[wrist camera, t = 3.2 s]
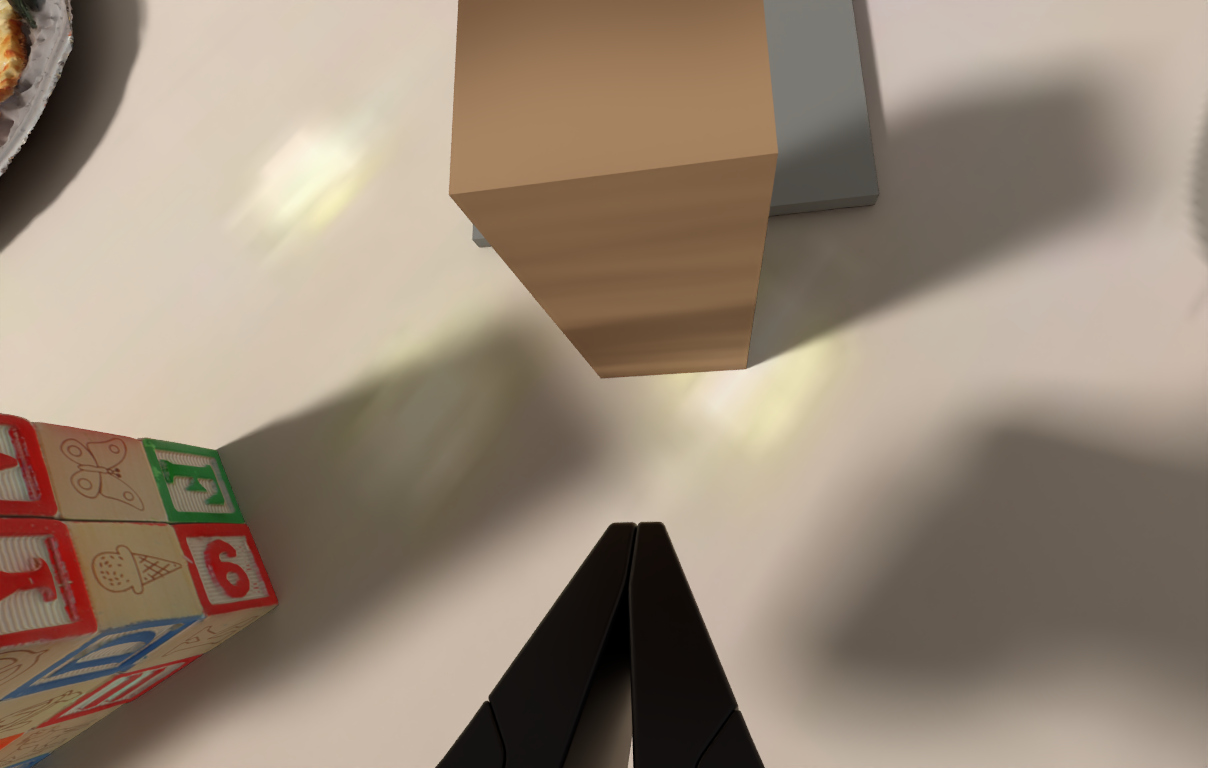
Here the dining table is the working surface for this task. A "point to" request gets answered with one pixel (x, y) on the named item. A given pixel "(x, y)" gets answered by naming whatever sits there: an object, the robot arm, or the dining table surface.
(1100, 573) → the dining table surface
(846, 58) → the mat
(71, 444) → the stack of blocks
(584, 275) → the walnut block
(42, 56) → the food plate
